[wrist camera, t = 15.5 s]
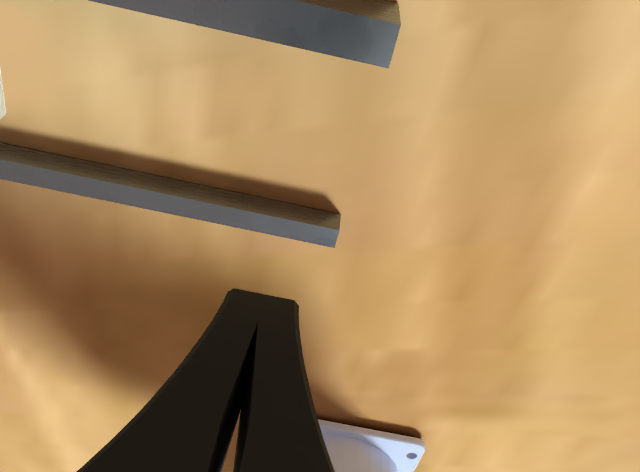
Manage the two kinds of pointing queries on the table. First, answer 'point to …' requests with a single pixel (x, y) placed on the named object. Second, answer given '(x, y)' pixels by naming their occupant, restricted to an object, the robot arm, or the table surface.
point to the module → (2, 99)
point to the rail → (203, 201)
